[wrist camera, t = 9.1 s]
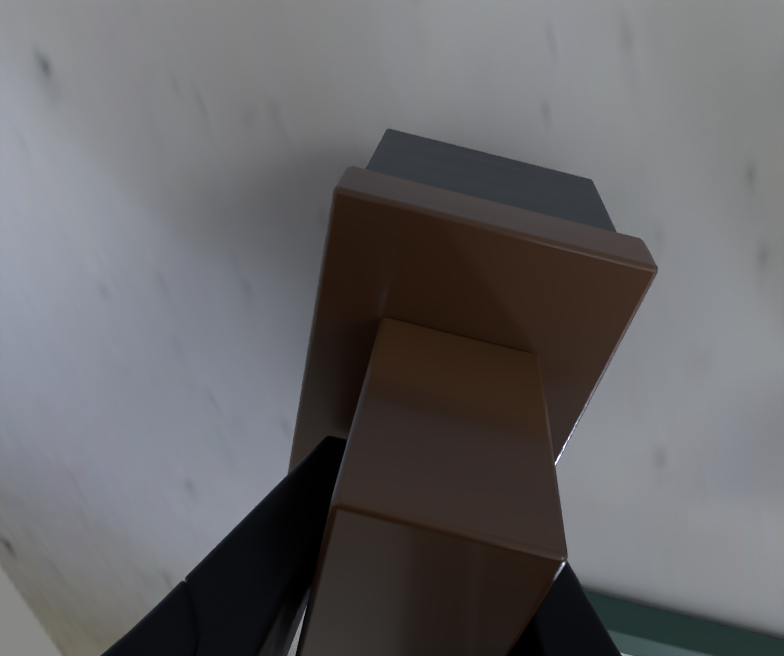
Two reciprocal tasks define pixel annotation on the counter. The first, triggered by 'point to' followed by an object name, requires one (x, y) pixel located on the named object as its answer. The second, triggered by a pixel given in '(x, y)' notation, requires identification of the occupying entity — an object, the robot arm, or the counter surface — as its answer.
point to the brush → (453, 391)
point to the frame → (676, 633)
